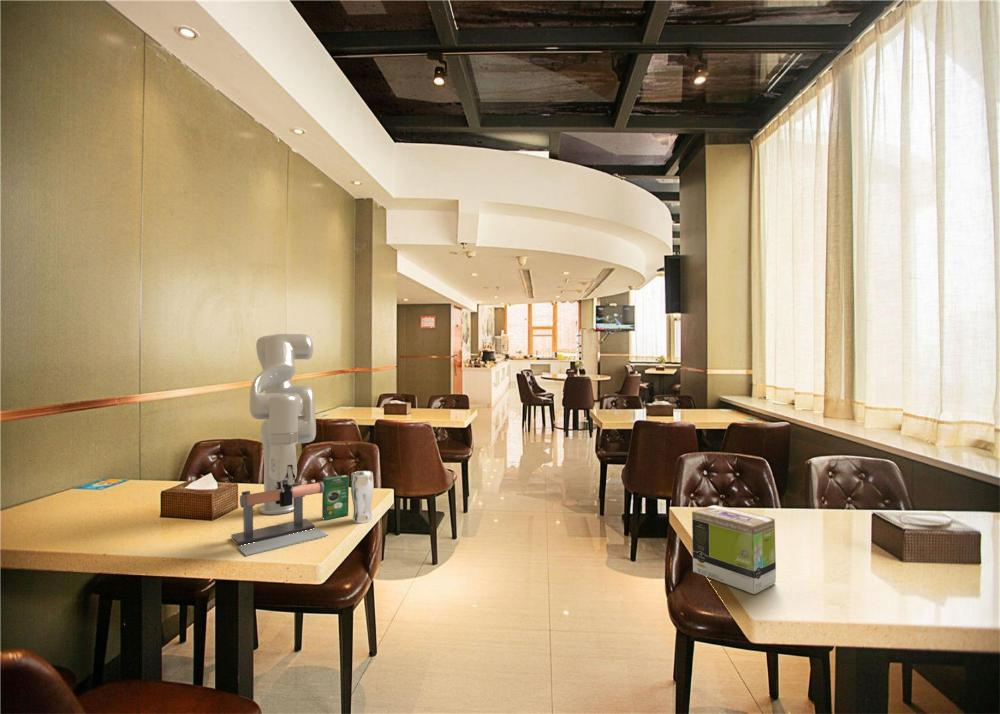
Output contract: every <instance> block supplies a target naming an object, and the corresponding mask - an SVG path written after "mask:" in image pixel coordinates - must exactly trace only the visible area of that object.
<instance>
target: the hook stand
mask: <svg viewBox="0 0 1000 714" xmlns="http://www.w3.org/2000/svg"><path fill="white" fill-rule="evenodd" d="M296 486H300V482H294V485H293V487H296ZM248 494H251V491H250V490H245V491H241V495H248ZM303 498H305V496H301V497H295V498H294V511H293V520H292V521H288V522H284V523H280V524H274V525H270V526H265V527H261V528H255V529H254V507H255V506H256V505H251V506H246V507H242V508H243V509H242V510H243V511H242V512H243V531H241V532H237V533H231V535H230V537H231V538H232V539H233V540H234V541H235V542H236V543H237V544H236V543H235V542H234V541H233V540H232V539H231V538H230V539H231V540H232V541H233V542H234V543H235V544H236V545H237V547H238V546H241V545H244V544H248V543H253V542H259V541H263V540H268V539H272V538H277V537H281V536H285V535H289V534H293V533H297V532H302V531H305V530H310V529H313V528H315V529H316V526H315V524H314V523H312V522H311V521H309V520H307V518H304V517H303V516H304V513H303V512H304V506H303V505H304V503H303Z"/></svg>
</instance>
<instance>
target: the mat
mask: <svg viewBox="0 0 1000 714" xmlns="http://www.w3.org/2000/svg"><path fill="white" fill-rule="evenodd" d="M326 536H328V537H329V534H327V533H326V532H325V531H323V530H321V529H320V528H318V527H317V528H316V527H315V529H312V530H307V531H303V532H298V533H294V534H290V535H285V536H281V537H277V538H272V539H268V540H263V541H259V542H255V543H250V544H246V545H242V546H238V545H237V549H238V550H239V551H240V552H241V553H242V554H243V555H244V557H249V556H253V555H257V554H261V553H265V552H270V551H273V550H278V549H281V548H287V547H290V546H289V545H291V546H294V545H293V544H295V545H297V544H296V543H299V544H301V543H300V542H303V543H305V542H304V541H307V542H309V541H308V540H311V541H313V540H312V539H315V540H319V539H323V538H322V537H324V538H327V537H326ZM318 538H319V539H318ZM286 546H287V547H286Z"/></svg>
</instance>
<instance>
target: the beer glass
mask: <svg viewBox="0 0 1000 714" xmlns="http://www.w3.org/2000/svg"><path fill="white" fill-rule="evenodd" d="M374 485H375V484H374V473H373V471H371V470H358V471H354V472H352V473H351V479H350V495H351V499H352V505H353V515H352V522H353V523H354V524H365V523H366V524H367V523H369V522H371V521H372V520H373V514H372V503H373V497H374V496H373V495H374Z"/></svg>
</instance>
